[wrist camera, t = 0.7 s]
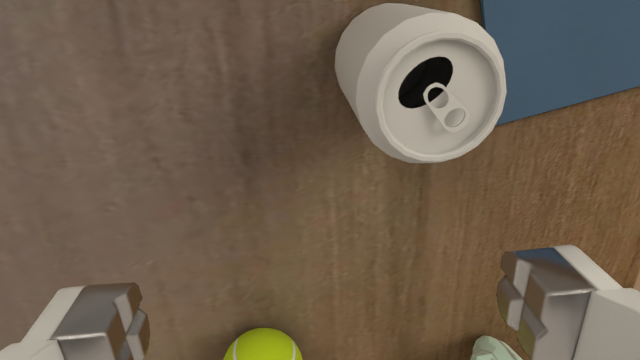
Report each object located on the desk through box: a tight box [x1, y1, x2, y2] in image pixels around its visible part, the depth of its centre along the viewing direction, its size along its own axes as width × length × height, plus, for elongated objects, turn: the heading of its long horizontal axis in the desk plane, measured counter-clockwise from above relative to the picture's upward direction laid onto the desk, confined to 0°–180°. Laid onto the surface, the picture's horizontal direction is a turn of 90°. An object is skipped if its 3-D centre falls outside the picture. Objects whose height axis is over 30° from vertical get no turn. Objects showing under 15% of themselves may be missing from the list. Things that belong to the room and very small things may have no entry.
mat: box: [480, 0, 640, 126], centre depth 30 cm, size 14×12×1 cm
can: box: [335, 3, 507, 163], centre depth 25 cm, size 8×8×12 cm
